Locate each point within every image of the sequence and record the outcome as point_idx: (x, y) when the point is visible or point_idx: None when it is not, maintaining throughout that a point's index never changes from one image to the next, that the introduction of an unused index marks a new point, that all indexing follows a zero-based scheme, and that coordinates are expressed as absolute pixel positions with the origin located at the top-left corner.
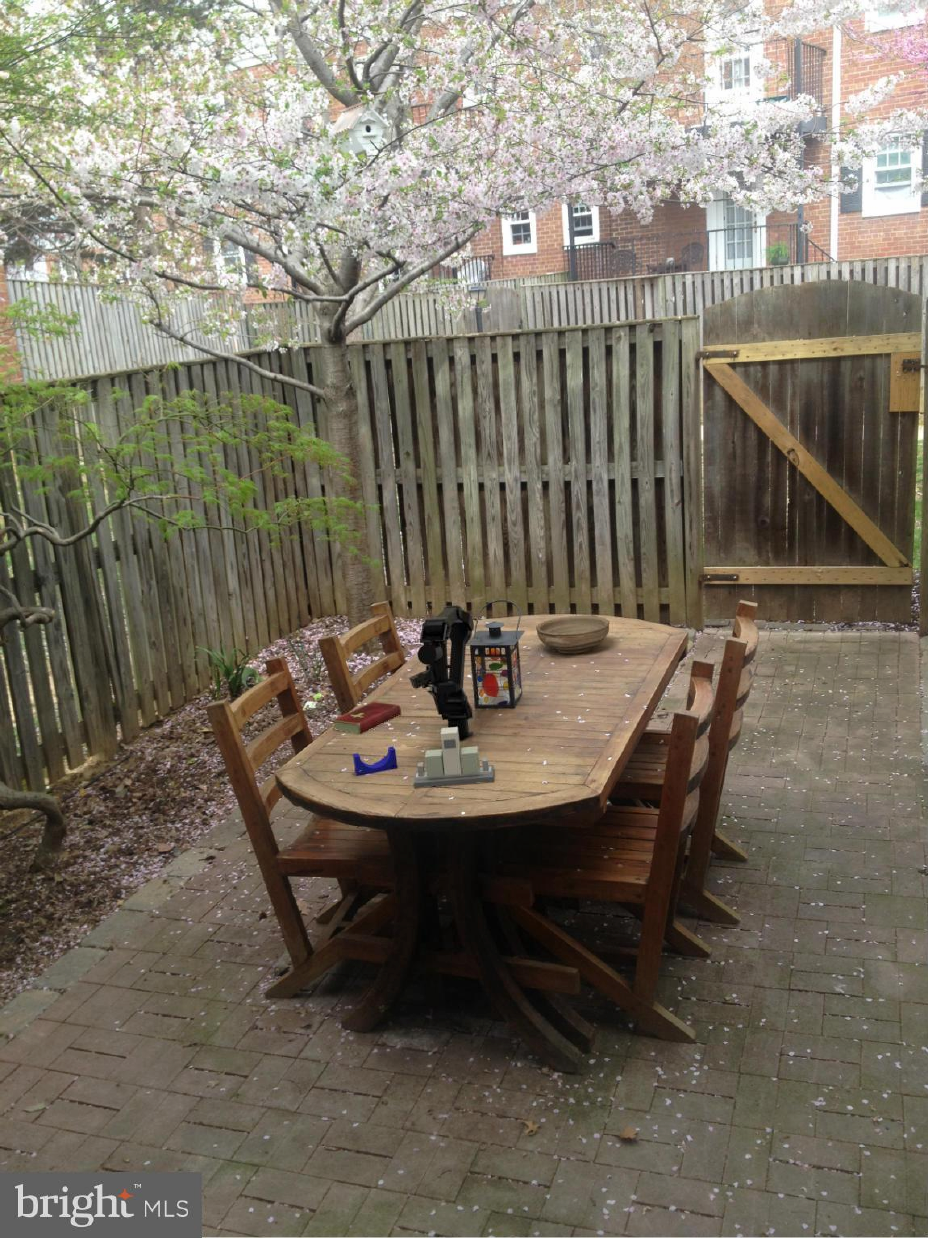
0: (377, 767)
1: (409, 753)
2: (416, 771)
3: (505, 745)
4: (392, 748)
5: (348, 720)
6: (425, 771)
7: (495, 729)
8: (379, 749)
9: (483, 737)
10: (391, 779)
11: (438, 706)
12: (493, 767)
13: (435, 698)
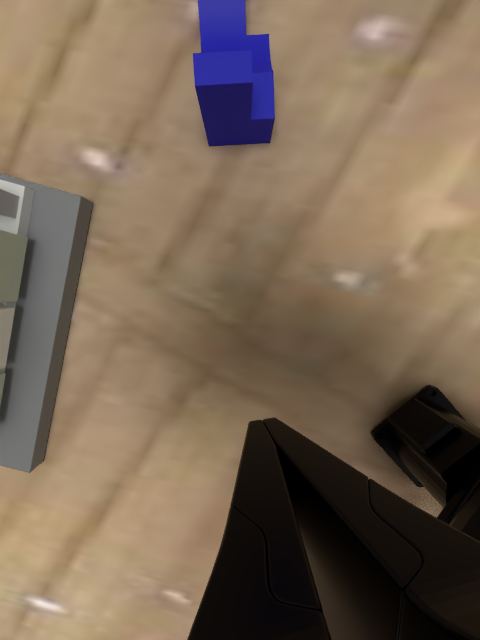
0: (205, 42)
1: (347, 223)
2: (75, 196)
3: None
4: (219, 72)
5: None
6: (62, 231)
7: None
8: (465, 109)
9: None
10: (99, 100)
11: (235, 485)
12: (16, 466)
13: (304, 599)
